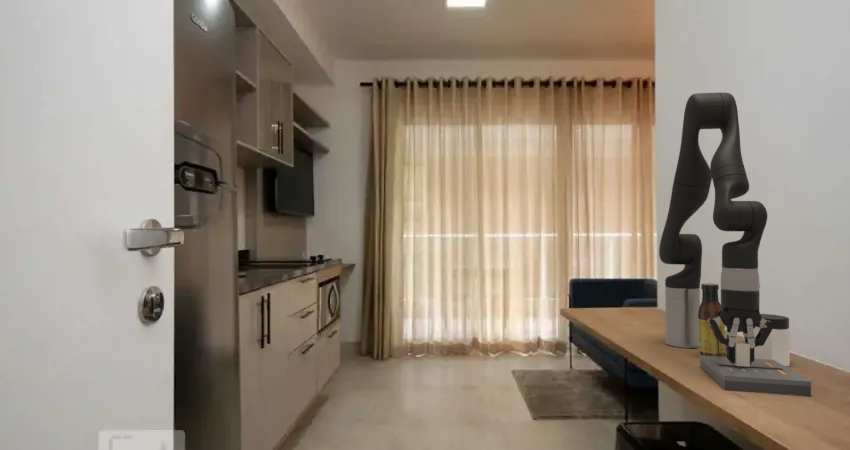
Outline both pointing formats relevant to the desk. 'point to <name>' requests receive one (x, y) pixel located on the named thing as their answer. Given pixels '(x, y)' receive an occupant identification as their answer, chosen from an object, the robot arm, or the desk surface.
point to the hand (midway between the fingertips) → (739, 362)
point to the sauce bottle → (707, 310)
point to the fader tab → (742, 354)
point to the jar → (775, 341)
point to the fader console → (755, 376)
